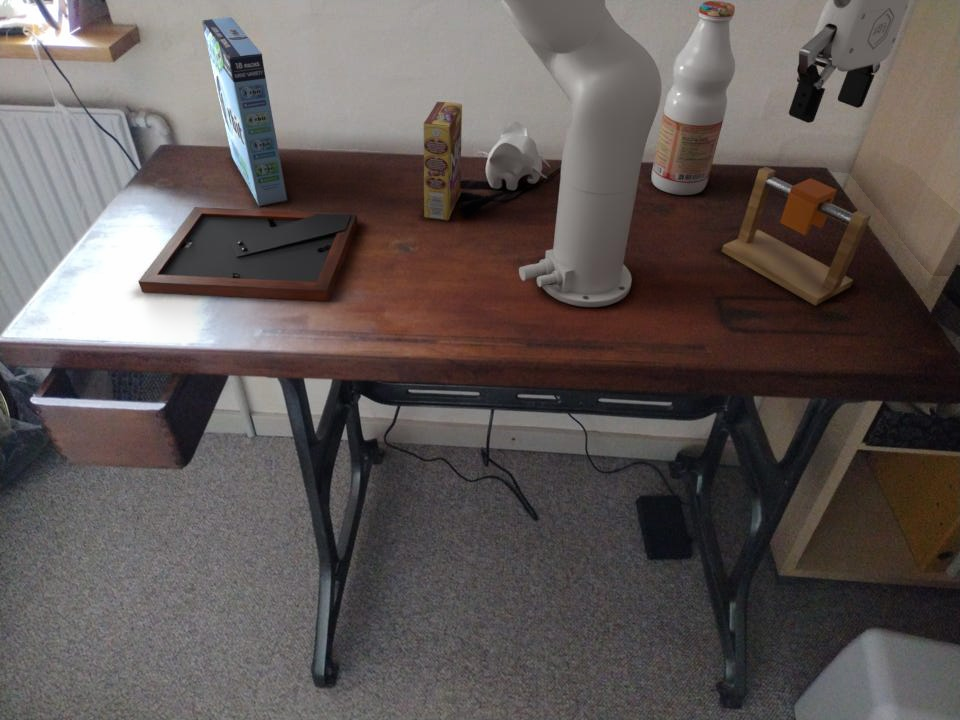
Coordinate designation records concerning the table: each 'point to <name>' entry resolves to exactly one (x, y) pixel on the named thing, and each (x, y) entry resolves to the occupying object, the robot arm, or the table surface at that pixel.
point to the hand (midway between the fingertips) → (825, 111)
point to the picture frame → (253, 254)
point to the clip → (806, 205)
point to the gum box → (246, 108)
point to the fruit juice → (695, 104)
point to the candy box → (442, 160)
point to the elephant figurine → (513, 158)
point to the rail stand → (788, 262)
